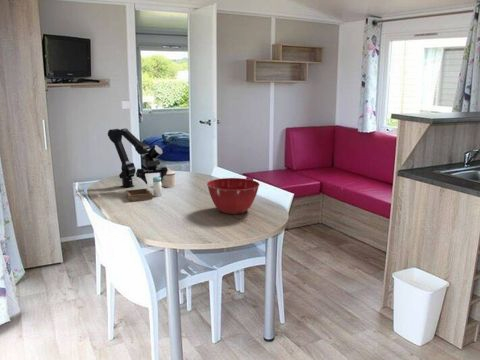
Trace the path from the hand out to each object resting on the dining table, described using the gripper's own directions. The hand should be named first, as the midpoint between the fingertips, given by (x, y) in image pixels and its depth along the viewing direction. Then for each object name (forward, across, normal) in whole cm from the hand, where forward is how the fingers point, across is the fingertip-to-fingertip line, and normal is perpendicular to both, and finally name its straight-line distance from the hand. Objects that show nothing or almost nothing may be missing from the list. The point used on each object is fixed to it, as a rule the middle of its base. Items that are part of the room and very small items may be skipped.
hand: (154, 183), depth 268 cm
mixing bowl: (+38, +32, -29) cm, 58 cm away
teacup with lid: (-8, +13, +19) cm, 24 cm away
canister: (+9, 0, +1) cm, 9 cm away
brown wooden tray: (+9, -11, +1) cm, 14 cm away
